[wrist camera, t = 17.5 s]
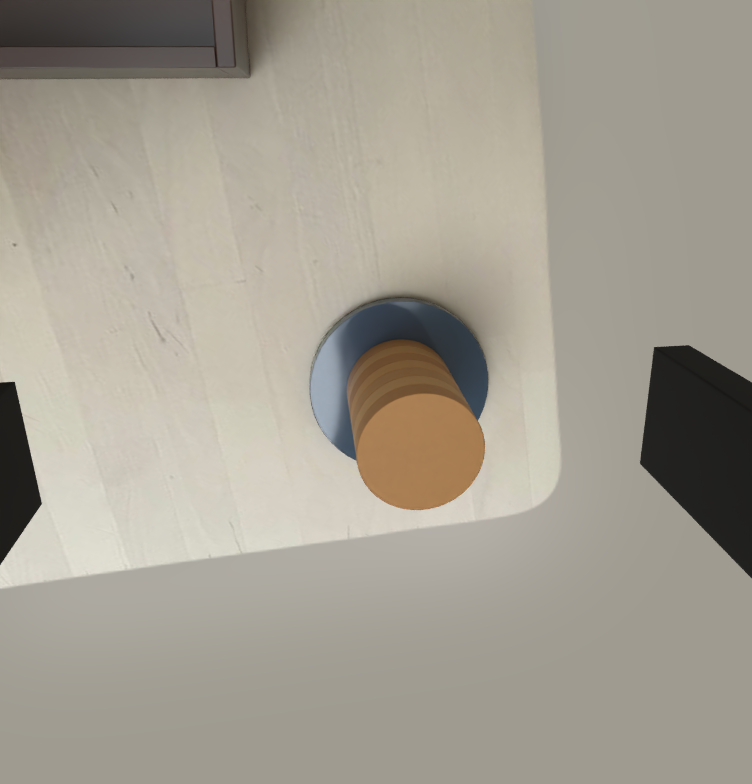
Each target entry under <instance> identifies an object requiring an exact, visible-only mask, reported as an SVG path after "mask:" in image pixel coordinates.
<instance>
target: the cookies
mask: <svg viewBox="0 0 752 784" xmlns="http://www.w3.org/2000/svg"><path fill="white" fill-rule="evenodd" d="M347 399H348V406H349V412H350V419H351V425H352V432H353V439H354V445H355V452H356V459H357V465H358V469H359V472H360V475H361V477H362V479H363V481H364V483H365V484H366V486H367V487H368V488H369V489H370V491H371V492H372V493H373V494H374V495H376V496H377V497H378V498H380V499H381V500H382V501H384V502H386V503H388V504H390V505H393V506H395V507H399V508H403V509H410V510H423V509H430V508H435V507H438V506H441V505H444V504H446V503H448V502H450V501H452V500H454V499H455V498H457V497H458V496H460V495H461V494H462V493H463V492H464V491H465V490H466V489H467V488H468V487H469V486H470V485H471V484H472V483H473V481H474V480H475V478H476V477H477V475H478V473H479V471H480V469H481V466H482V463H483V459H484V453H485V441H484V435H483V432H482V429H481V427H480V424H479V422H478V421H477V419H476V417H475V415H474V413H473V412H472V410H471V408H470V406H469V405H468V403H467V401H466V399H465V398H464V396H463V394H462V392H461V391H460V389H459V387H458V385H457V384H456V382H455V380H454V378H453V377H452V375H451V373H450V371H449V370H448V368H447V366H446V364H445V363H444V361H443V360H442V358H441V357H440V356H439V355H438V354H437V353H436V352H435V351H434V350H432V349H431V348H429V347H428V346H426V345H424V344H422V343H420V342H416V341H412V340H404V339H398V340H390V341H386V342H383V343H380V344H378V345H376V346H374V347H372V348H371V349H369V350H368V351H366V352H365V353H364V354H363V355H362V356H361V357H360V358H359V359H358V361H357V362H356V363H355V365H354V366H353V368H352V370H351V372H350V375H349V378H348V383H347Z"/></svg>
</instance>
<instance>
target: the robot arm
mask: <svg viewBox="0 0 752 784" xmlns="http://www.w3.org/2000/svg"><path fill="white" fill-rule="evenodd" d="M640 464H641V465H642V466H643V467H644V468H645V469H646V470H647V471H648V472H649V473H650V474H651V475H652V476H653V477H654V478H655V479H656V480H657V481H658V483H660V485H661V486H662V487H663V488H664V489H665V490H666V491H667V492H668V493H669V494H670V495H671V496H672V497H673V498H674V499H675V500H676V501H677V502H678V503H679V504H680V505H681V506H682V507H683V508H684V509H685V510H686V511H687V512H688V513H689V514H690V515H691V516H692V517H693V519H694V520H695V521H696V522H697V523H698V524H699V525H700V526H701V527H702V528H703V529H704V530H705V531H706V532H707V533H708V534H709V535H710V536H711V537H712V538H713V539H714V540H715V541H716V542H717V543H718V544H719V545H720V546H721V547H722V548H723V549H724V550H725V551H726V552H727V553H728V555H730V557H731V558H732V559H733V560H734V561H735V562H736V563H737V564H738V565H739V566H740V567H741V568H742V569H743V570H744V571H745V572H746V573H747V574H748V575H749V576H750V577H751V578H752V382H750V381H748V380H747V379H745V378H743V377H741V376H740V375H738V374H736V373H735V372H733V371H731V370H729V369H728V368H726V367H725V366H723V365H721V364H720V363H717V362H716V361H714V360H713V359H711V358H709V357H708V356H706V355H704V354H703V353H701V352H699V351H697V350H696V349H694V348H692V347H691V346H689V345H686V346H669V347H654V353H653V361H652V369H651V378H650V387H649V394H648V403H647V410H646V420H645V427H644V435H643V444H642V451H641V461H640ZM41 504H42V502H41V498H40V493H39V489H38V484H37V480H36V475H35V471H34V467H33V462H32V458H31V453H30V449H29V444H28V440H27V435H26V431H25V426H24V422H23V417H22V413H21V408H20V404H19V399H18V395H17V390H16V386H15V382H3V383H0V564H1V563H2V561H3V560H4V558H5V557H6V556H7V554H8V553H9V551H10V550H11V548H12V547H13V545H14V544H15V542H16V541H17V539H18V538H19V536H20V535H21V534H22V532H23V531H24V529H25V528H26V526H27V525H28V523H29V522H30V520H31V519H32V517H33V516H34V514H35V513H36V512H37V510H38V509H39V507H40V506H41Z"/></svg>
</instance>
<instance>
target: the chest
mask: <svg viewBox="0 0 752 784" xmlns="http://www.w3.org/2000/svg"><path fill="white" fill-rule="evenodd" d="M136 78H250V66H249V51H248V36H247V20H246V5H245V0H0V79H136Z"/></svg>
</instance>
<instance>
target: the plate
mask: <svg viewBox="0 0 752 784" xmlns="http://www.w3.org/2000/svg"><path fill="white" fill-rule="evenodd" d="M398 339H404V340H412V341H416V342H420V343H422V344H424V345H426V346H428V347H429V348H431V349H432V350H434V351H435V352H436V353H437V354H438V355H439V356H440V357H441V358H442V360H443V361H444V363H445V364H446V366H447V368H448V370H449V371H450V373H451V375H452V377H453V378H454V380H455V382H456V384H457V385H458V387H459V389H460V391H461V392H462V394H463V396H464V398H465V399H466V401H467V403H468V405H469V406H470V408H471V410H472V412H473V413H474V415H475V417H476V419H477V421H478V419H479V418H480V415H481V413H482V410H483V408H484V405H485V401H486V397H487V390H488V371H487V365H486V361H485V358H484V354H483V352H482V350H481V348H480V345H479V343H478V342H477V340H476V339H475V337H474V336H473V334H472V333H471V331H470V330H469V329H468V328H467V327H466V326H465V324H464V323H463V322H462V321H461V320H460V319H458V318H457V317H456V316H455V315H454V314H452V313H451V312H449V311H448V310H446V309H444V308H442V307H440V306H438V305H436V304H434V303H431V302H427V301H424V300H420V299H414V298H388V299H383V300H379V301H374V302H372V303H369V304H366V305H363V306H362V307H360V308H358V309H356V310H354V311H352V312H351V313H349V314H348V315H346V316H345V317H343V318H342V319H341V320H340V321H339V322H338V323H337V324H336V325H334V326H333V328H332V329H331V330H330V331H329V332H328V334H327V335H326V336H325V338H324V339H323V341H322V342H321V344H320V346H319V348H318V350H317V352H316V354H315V357H314V361H313V364H312V368H311V374H310V398H311V405H312V409H313V412H314V415H315V418H316V420H317V422H318V425H319V426H320V428H321V430H322V431H323V433H324V434H325V436H326V437H327V438H328V439H329V441H330V442H331V443H332V444H333V445H334V446H335V447H337V448H338V449H339V450H340V451H341V452H343V453H344V454H346V455H347V456H349V457H351V458H352V459H354V460H356V461H357V459H356V452H355V445H354V439H353V432H352V425H351V419H350V412H349V406H348V399H347V383H348V378H349V375H350V372H351V370H352V368H353V366H354V365H355V363H356V362H357V361H358V359H359V358H360V357H361V356H362V355H363V354H364V353H365V352H366V351H368V350H369V349H371V348H372V347H374V346H376V345H378V344H380V343H383V342H386V341H390V340H398Z"/></svg>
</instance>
